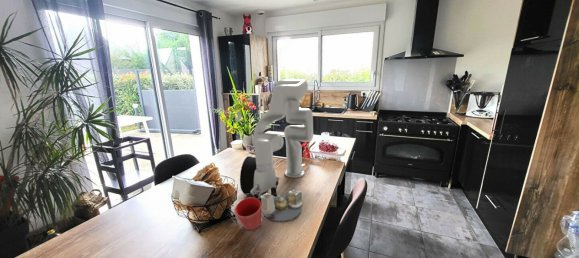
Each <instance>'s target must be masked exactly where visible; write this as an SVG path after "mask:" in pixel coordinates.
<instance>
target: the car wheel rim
mask: <svg viewBox="0 0 579 258" xmlns="http://www.w3.org/2000/svg"><path fill="white" fill-rule="evenodd" d="M240 168H241V169H240V173H239V185H240V190H241V192H242V193H243V194H244V195H248V194H251V193H250V191H251V190H252V189H253V187H254V174H255V170H256V156H255V157H254V156H253V157H252V156H250V155H248V156H246V157H245V158H244V160H243V162H242V164H241V167H240ZM268 191H269V190H267V191H266V192H264V193H262V195H264V194H266V193H268ZM255 192H256V191H255ZM259 193H260V192H258V194H257V195H259ZM251 195H252V194H251ZM262 195H261V196H262Z"/></svg>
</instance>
